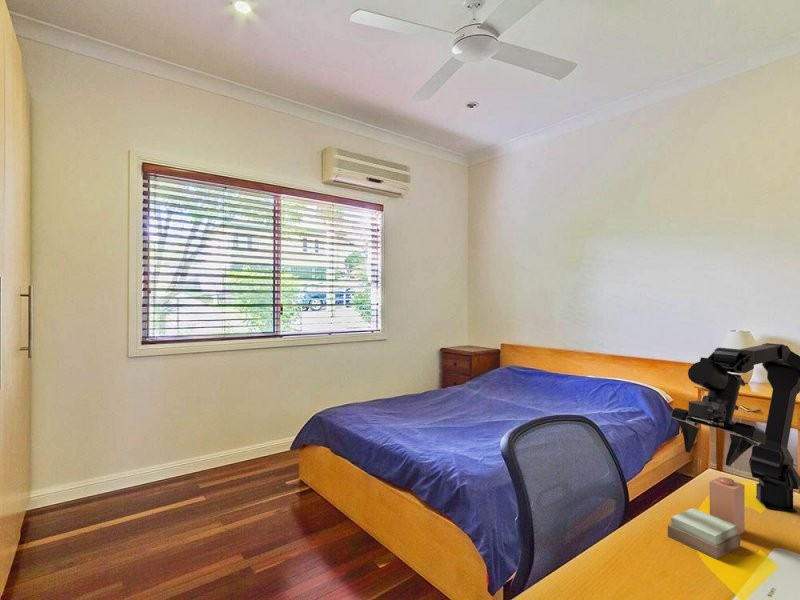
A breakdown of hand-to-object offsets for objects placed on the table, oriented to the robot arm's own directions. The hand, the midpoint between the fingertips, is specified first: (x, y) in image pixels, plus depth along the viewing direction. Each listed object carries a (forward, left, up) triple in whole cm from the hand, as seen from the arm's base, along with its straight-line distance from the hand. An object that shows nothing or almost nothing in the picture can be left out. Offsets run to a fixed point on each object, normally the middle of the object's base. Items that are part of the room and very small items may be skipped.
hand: (706, 458), depth 102 cm
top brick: (-4, 0, -16) cm, 17 cm away
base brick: (+3, +8, -16) cm, 18 cm away
